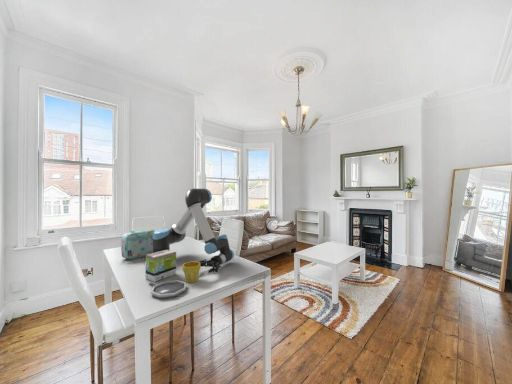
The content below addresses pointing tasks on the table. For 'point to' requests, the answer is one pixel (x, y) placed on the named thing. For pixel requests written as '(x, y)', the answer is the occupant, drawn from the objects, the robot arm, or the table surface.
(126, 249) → the lunch box
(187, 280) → the plant pot
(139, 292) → the table surface
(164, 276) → the tea box
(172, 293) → the octagonal handled pan
